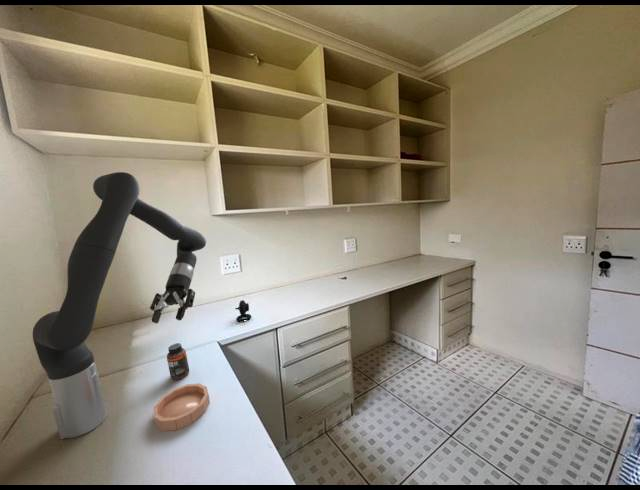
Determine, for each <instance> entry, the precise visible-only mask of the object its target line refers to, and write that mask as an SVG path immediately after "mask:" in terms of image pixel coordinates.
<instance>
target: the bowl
mask: <svg viewBox="0 0 640 490" xmlns="http://www.w3.org/2000/svg"><path fill="white" fill-rule="evenodd" d="M210 402H211V401H210V397H209V390H208V387H207V385H204V384H202V383H200V382H199V383H188V384H185V385H181V386H180V387H176V388H174V389H172V390H170V391H168V393H166V394H165V395H163V396H161V398H159V400H158V402H157V403H156V404H155V405H154V406H153V414H152V415H153V416H152V417H153V423H154V426H155V427H156V428H158V429H159V430H161V431H162V432H167V431H177V430H180V429H182V428H185V427H187V426H188V425H191V424H193V423H194V422H196V421H197V420H198V419H199V418H200V417H202V416H203V415H204V414H205V413H206V411H207V409H208V407H209V406H210Z"/></svg>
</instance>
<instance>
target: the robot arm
mask: <svg viewBox="0 0 640 490" xmlns="http://www.w3.org/2000/svg"><path fill="white" fill-rule="evenodd" d="M92 188H93V189H92V190H93V192H94V194H95V196H97V198H98V199H99V200H101V204H100V207H99V208H98V210H97V212H96V214H95V215H94V216H93V218H92V219H90V221H89V222H88V224H87V225H86V226H85V227H84V229H82V231H81V232H80V234H79V235H78V237H77V239H76V240H75V242H74V245H73V248H72V250H71V253H70V255H69V257H68V262H67V268H66V269H67V272H66V273H67V287H66V288H67V289H66V293H65V297H64V298H63V302H62V304H61V306H60V308H59V310H56V311H51V312H49V313H47V314H45V315H43V316H42V317H40V318H39V319H38V320H37V322H36V323H35V324H34V326H33V329H32V340H33V344H34V347H35V348H34V349H35V351H36V353H37V356H38V361H39V362H40V365H41V366H42V368H43V370H44V371H45V373H46V375H47V379H48V382H49V383H48V384H49V386H50V389H51V394H52V397H53V401H54V405H52V413H53V416H54V419H55V424H56V428H57V431H58V435H59V438H60V440H63V439H64V440H65V439H67V438H68V439H71V438H72V439H73V438H77V437H80V436H83V435H85V434H88V433H90V432H91V431H93V430H94V429H96V428H97V427H99V426H100V425H101V424H102V423H103V422H104V421H105V419H106V418H107V415H108V412H107V406H106V404H105V399H104V395H103V391H102V387H101V383H100V378H99V375H98V369H97V366H96V362H95V358H94V357H95V356H94V354H93V352H92V351H91V350H90V349H89V347H88V346H87V345H86V343H85V341H86V340H87V339H88V337H89V335H90V334H91V332H92V329H93V326H94V322H95V317H96V312H97V309H98V303H99V300H100V296H101V294H102V292H103V291H102V290H103V287H104V284H105V281H106V278H107V277H108V273H109V271H110V268H111V266H112V263H113V262H114V258H115V255H116V252H117V248H118V245H119V242H120V239H121V237H122V234H123V232H124V228H125V225H126V222H127V220H128V218H129V216H130V215H131V216H132V217H135V218H136V219H139V220H140V221H141V222H143V223H145V224H146V225H149V226H150V228H151V227H152V228H153V229H154V230H156V231H158V232H159V233H161V234H162V235H164V236H165V238H166V237H167V238H168V239H170V240H171V241H177V244H176V259H175V261H174V263H173V266H172V268H171V270H170V272H169V275H168V278H167V281H166V283H165V291H164V292H163V293H161V294H160V293H155V295H154V298H153V299H152V301H151V305H150V307H149V309H150V310H151V311H153V314H152V317H151V322H152V323H153V324H158V323H159V321H160V319H161V316H162V313H163V312H164V310H166V309H168V308H169V307H170V306H174V305H178V306H179V307H178V308H177V312H176V316H175V319H176V320H177V321H182V320H183V319H184V317H185V313H186V310H187V309H188V308H192V307H193V306H194V300H195V295H196V291H195V290H193V289H192V288H190V286H191V283H192V280H193V277H194V272H195V267H196V265H197V260H198V259H197V256H196V254H195V253H194V252H196V251H200V250H202V249H204V248H205V247H206V245H207V240H206V238H205V236H204V235H203V234H202V233H201V232H200V231H198V230H196V229H193V228H191V227H189V226H186V225H184V224H182V223H181V222H180V221H179V220H177V219H176V217H175V218H174V216H172V215H170V214H169V213H167V212H165V211H163V210H161V209H159V208H157V207H154V206H152V205H150V204H148V203H146V202H145V201H143V200H142V199H140V198H139V196H140V191H141V190H140V189H141V188H140V184H139V181H138V180H137V177H135V176H134V175H132V174H130V173H128V172H124V171H117V172H111V173H107V174H104V175H101V176H99V177H97V178H96V179H95V180H94V182H93V184H92Z"/></svg>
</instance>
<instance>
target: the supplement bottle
mask: <svg viewBox="0 0 640 490" xmlns="http://www.w3.org/2000/svg"><path fill="white" fill-rule="evenodd" d="M166 361H167V365H168V371H169V375H170V379H171V380H174V381H178V380H181V379H183V378H186V376H187V375H189V373H190V367H189V363H188V356H187V352H186V349H185V348H183V347H182V344H181V343H173V344H171V345H169V346H168V353H167V354H166Z"/></svg>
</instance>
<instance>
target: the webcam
mask: <svg viewBox="0 0 640 490" xmlns="http://www.w3.org/2000/svg"><path fill="white" fill-rule="evenodd" d="M235 310H238V311H239V314H240V315H238V316H237V317H236V321H237V320H238V321H244V320H248V319H249V320H251V319H252V315H251V314H250V313H247V312H249V311H250V305H249V303H248V302H247V303H246V301H245V300H244V299H243V300H240V301H239V304H238V307H235ZM250 318H251V319H250ZM249 320H248V321H249ZM238 321H237V322H238Z"/></svg>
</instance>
